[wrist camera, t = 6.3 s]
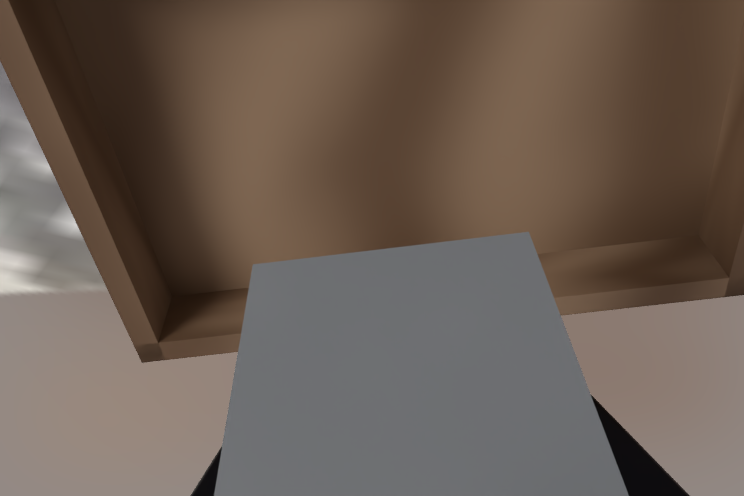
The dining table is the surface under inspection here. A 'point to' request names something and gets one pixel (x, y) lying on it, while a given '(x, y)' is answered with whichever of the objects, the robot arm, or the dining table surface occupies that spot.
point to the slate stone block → (411, 379)
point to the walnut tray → (386, 142)
